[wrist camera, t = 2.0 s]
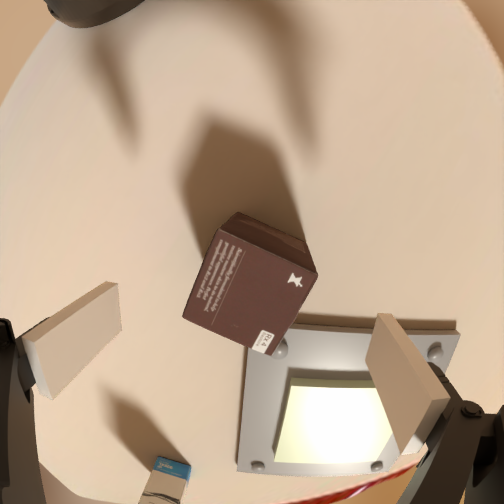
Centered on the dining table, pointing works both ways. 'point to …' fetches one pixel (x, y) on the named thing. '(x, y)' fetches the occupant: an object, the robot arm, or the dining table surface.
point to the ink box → (166, 483)
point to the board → (322, 403)
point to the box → (251, 284)
